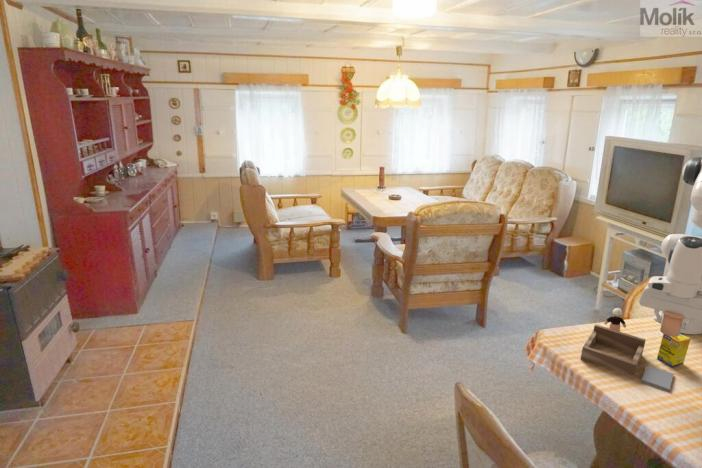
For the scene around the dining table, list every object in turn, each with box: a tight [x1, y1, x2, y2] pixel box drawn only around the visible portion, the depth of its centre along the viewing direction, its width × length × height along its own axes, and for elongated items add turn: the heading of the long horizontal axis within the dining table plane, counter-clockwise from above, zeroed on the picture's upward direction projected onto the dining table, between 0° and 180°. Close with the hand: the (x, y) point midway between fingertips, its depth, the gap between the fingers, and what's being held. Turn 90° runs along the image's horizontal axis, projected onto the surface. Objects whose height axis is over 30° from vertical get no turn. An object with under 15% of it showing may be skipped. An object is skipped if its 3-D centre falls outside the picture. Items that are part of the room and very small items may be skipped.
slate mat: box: [640, 364, 675, 393], centre depth 156 cm, size 11×8×1 cm
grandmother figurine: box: [603, 307, 627, 332], centre depth 179 cm, size 8×4×13 cm, turn 84°
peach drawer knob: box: [659, 311, 686, 337], centre depth 149 cm, size 6×6×8 cm
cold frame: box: [580, 323, 646, 378], centre depth 167 cm, size 17×17×7 cm
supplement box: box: [656, 333, 691, 368], centre depth 164 cm, size 6×6×11 cm
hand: (671, 325), depth 149 cm, fingers closed on peach drawer knob, 6 cm apart
